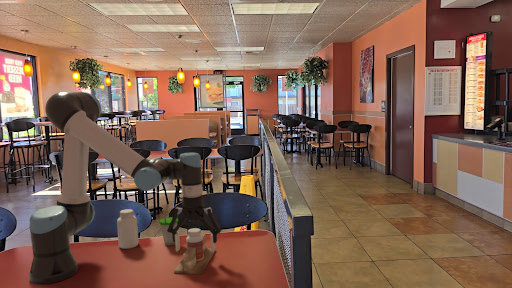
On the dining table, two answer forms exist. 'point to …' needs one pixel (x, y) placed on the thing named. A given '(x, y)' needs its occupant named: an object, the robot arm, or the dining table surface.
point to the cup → (164, 226)
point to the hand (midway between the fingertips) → (195, 250)
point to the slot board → (194, 260)
